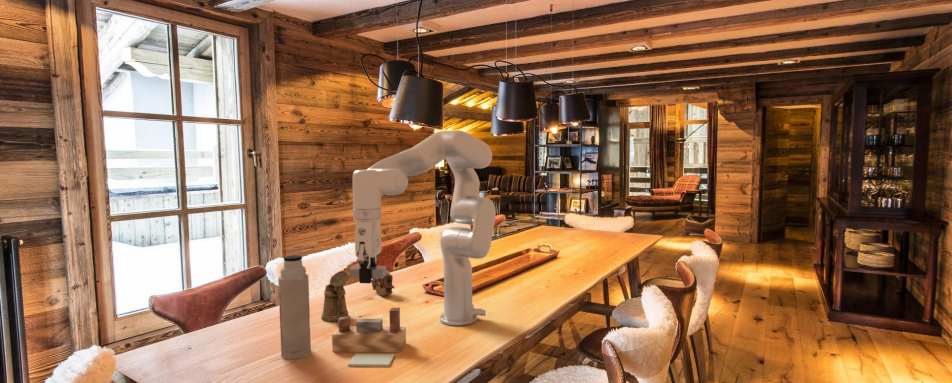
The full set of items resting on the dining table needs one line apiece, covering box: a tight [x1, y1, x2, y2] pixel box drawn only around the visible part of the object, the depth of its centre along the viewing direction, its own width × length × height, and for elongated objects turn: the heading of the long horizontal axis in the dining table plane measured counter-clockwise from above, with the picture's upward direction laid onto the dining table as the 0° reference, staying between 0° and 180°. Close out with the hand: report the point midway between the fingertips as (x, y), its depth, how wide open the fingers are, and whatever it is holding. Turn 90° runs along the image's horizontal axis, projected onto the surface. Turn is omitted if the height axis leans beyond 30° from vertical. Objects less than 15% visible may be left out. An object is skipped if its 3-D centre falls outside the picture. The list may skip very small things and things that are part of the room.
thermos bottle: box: [277, 254, 312, 360], centre depth 144 cm, size 8×8×28 cm
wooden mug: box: [321, 271, 349, 322], centre depth 174 cm, size 9×14×18 cm, turn 30°
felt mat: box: [347, 353, 395, 368], centre depth 139 cm, size 11×7×1 cm, turn 87°
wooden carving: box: [371, 269, 395, 297], centre depth 204 cm, size 16×5×10 cm, turn 41°
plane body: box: [331, 307, 407, 353], centre depth 148 cm, size 20×7×11 cm, turn 87°
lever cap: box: [348, 265, 387, 279], centre depth 140 cm, size 9×5×3 cm, turn 86°
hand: (368, 280), depth 140 cm, fingers closed on lever cap, 4 cm apart
